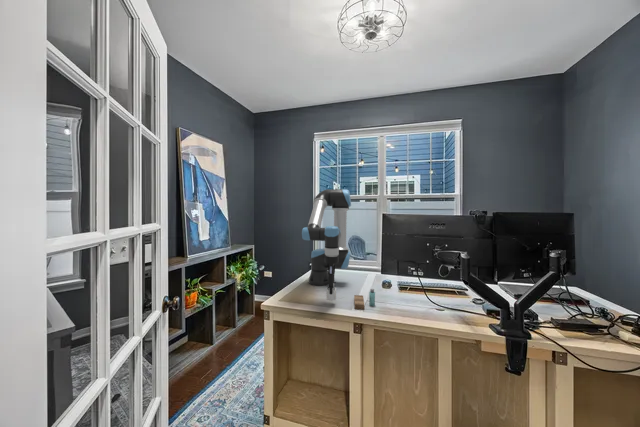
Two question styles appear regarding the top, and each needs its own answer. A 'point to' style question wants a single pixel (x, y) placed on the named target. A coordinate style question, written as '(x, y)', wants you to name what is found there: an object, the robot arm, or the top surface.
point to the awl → (372, 297)
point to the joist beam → (359, 302)
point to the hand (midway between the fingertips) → (331, 297)
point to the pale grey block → (328, 293)
